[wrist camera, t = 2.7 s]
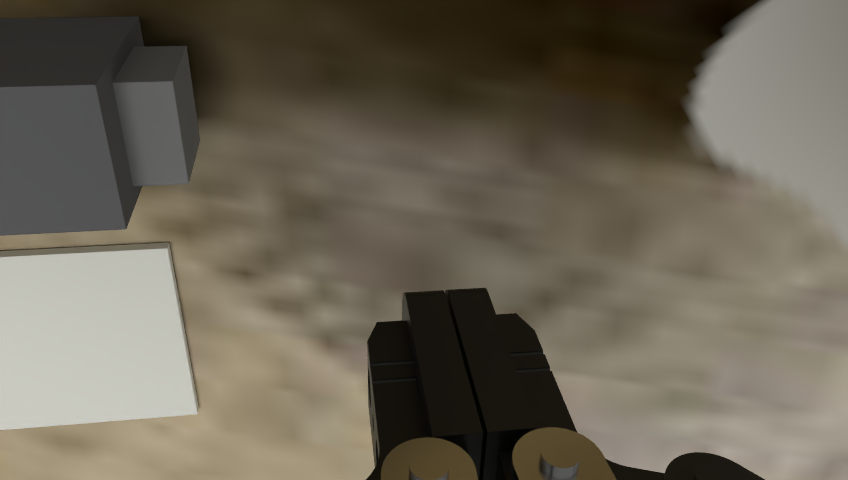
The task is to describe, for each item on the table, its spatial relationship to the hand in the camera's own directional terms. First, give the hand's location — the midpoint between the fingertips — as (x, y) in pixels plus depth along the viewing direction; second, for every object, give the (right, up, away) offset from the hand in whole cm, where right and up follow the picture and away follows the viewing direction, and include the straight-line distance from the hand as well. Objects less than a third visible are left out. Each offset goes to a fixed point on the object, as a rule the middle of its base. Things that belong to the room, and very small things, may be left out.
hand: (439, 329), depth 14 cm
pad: (-16, -2, +14) cm, 22 cm away
